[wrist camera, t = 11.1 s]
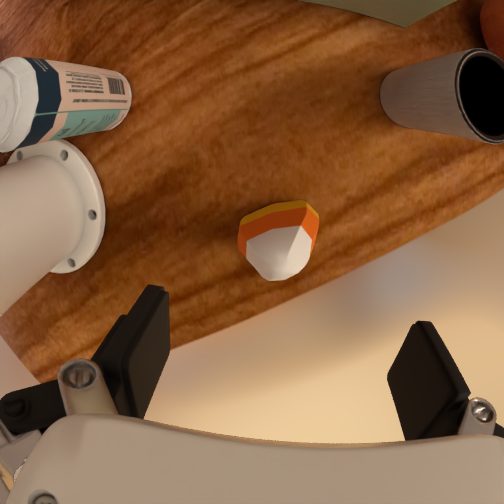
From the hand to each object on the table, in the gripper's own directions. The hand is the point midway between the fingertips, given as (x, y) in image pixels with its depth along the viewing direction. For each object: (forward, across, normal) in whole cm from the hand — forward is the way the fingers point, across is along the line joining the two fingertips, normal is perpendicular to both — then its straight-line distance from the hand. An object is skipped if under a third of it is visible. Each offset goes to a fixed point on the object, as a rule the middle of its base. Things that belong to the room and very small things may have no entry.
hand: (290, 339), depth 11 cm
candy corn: (+14, 0, 0) cm, 14 cm away
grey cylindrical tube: (+14, -8, -11) cm, 19 cm away
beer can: (+13, +14, -8) cm, 21 cm away
